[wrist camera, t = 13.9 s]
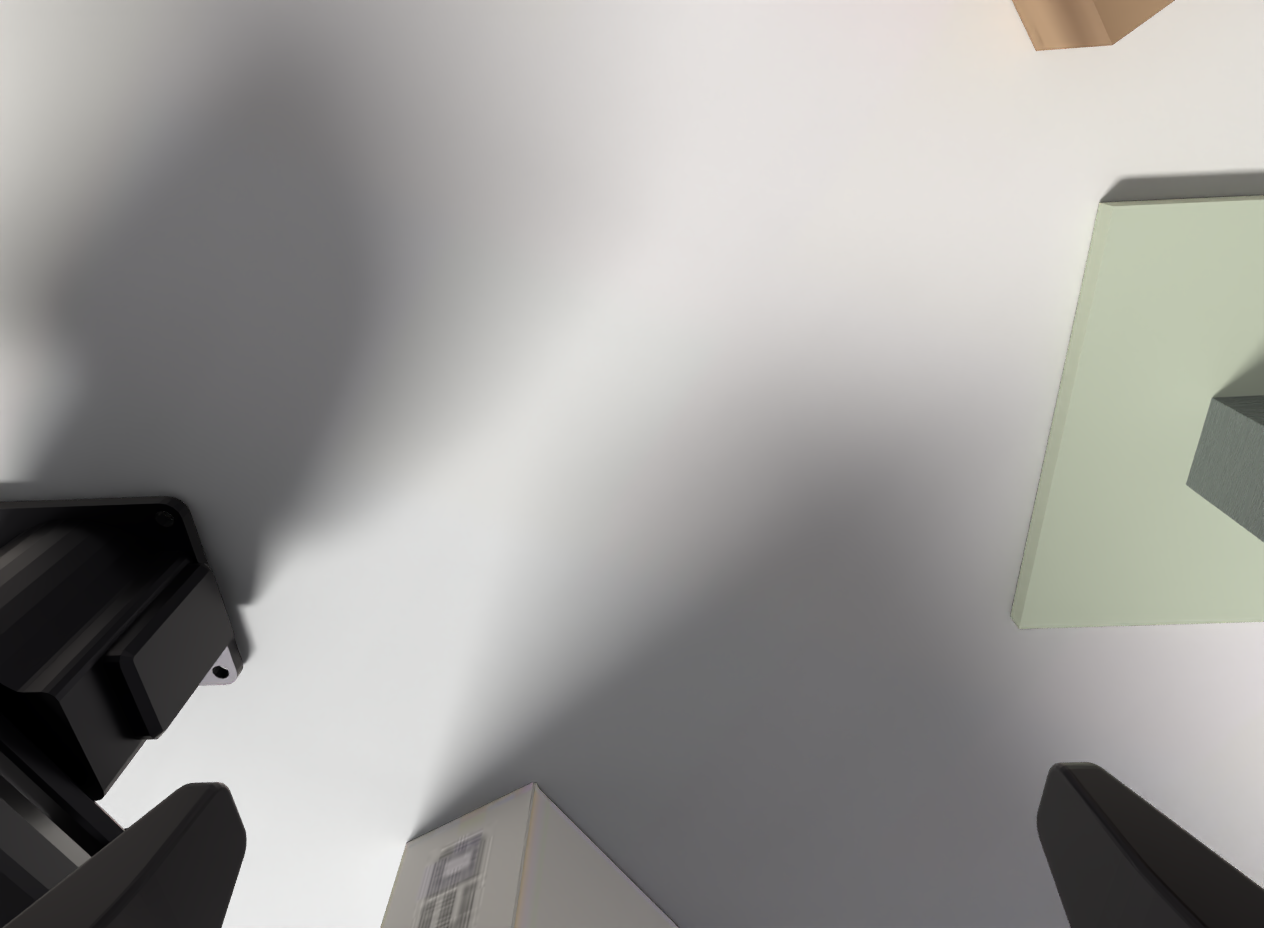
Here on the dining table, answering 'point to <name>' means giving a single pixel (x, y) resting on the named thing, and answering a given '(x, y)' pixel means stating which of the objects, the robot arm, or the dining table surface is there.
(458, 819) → the packaging
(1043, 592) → the mat
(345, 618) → the dining table surface
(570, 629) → the dining table surface
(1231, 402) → the gray rectangular block
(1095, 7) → the slotted box
